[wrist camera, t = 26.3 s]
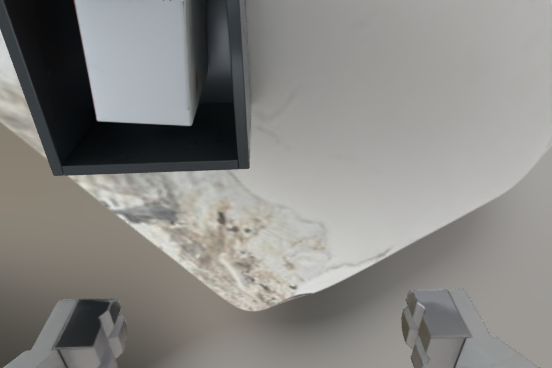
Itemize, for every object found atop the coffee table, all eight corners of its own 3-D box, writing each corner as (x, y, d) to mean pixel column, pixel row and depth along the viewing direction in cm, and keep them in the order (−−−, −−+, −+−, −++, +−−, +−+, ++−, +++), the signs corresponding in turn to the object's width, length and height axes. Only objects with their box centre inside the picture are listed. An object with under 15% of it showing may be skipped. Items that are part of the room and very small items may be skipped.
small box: (124, -47, 28) (64, -34, 19) (206, -41, 28) (185, -25, 20) (137, 69, 32) (93, 124, 23) (208, 73, 33) (191, 128, 24)
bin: (251, 106, 35) (249, 169, 26) (105, 111, 35) (53, 176, 26) (240, -97, 27) (232, -107, 18) (53, -93, 27) (-48, -102, 18)
